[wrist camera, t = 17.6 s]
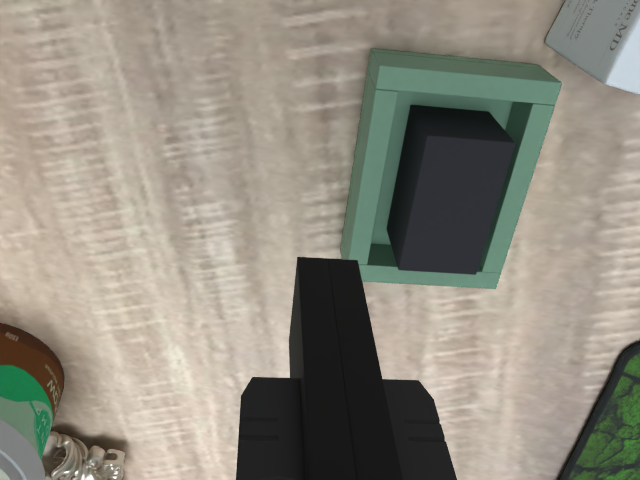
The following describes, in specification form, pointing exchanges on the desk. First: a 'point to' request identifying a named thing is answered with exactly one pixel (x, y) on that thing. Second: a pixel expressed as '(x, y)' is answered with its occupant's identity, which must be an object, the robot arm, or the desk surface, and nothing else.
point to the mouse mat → (612, 428)
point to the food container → (26, 402)
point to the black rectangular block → (447, 189)
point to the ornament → (80, 460)
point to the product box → (601, 40)
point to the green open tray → (387, 140)
